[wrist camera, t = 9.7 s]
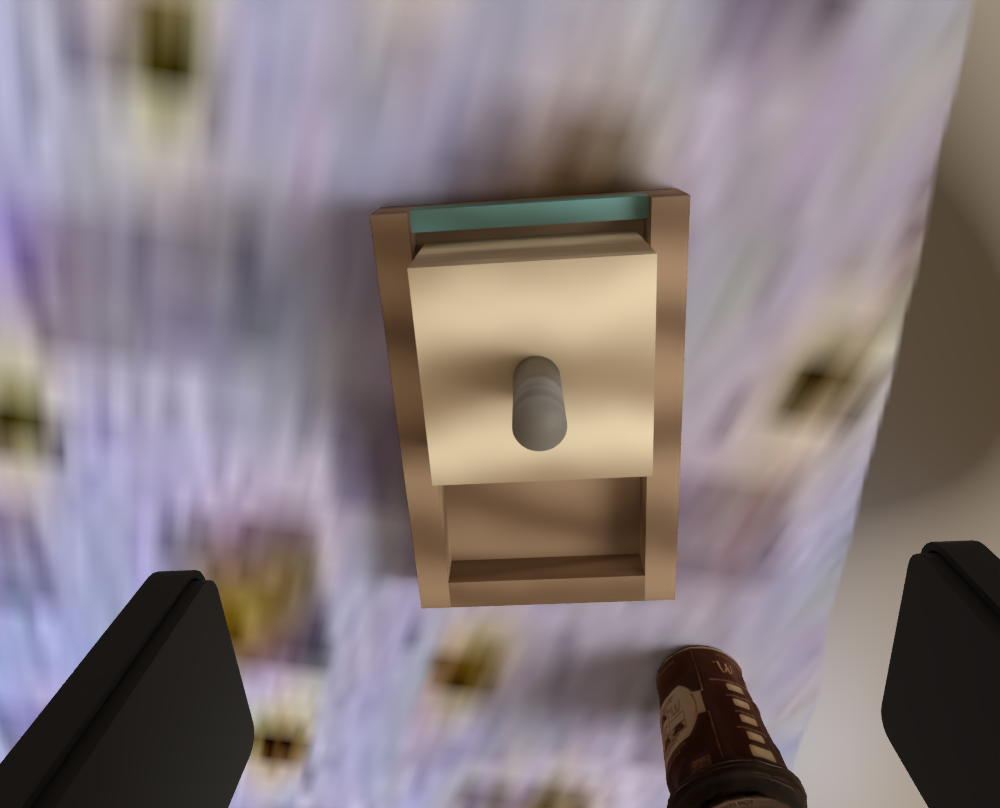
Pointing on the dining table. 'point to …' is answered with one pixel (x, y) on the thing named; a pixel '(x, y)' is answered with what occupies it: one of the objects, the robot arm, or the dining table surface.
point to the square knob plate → (537, 356)
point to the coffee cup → (718, 738)
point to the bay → (541, 504)
